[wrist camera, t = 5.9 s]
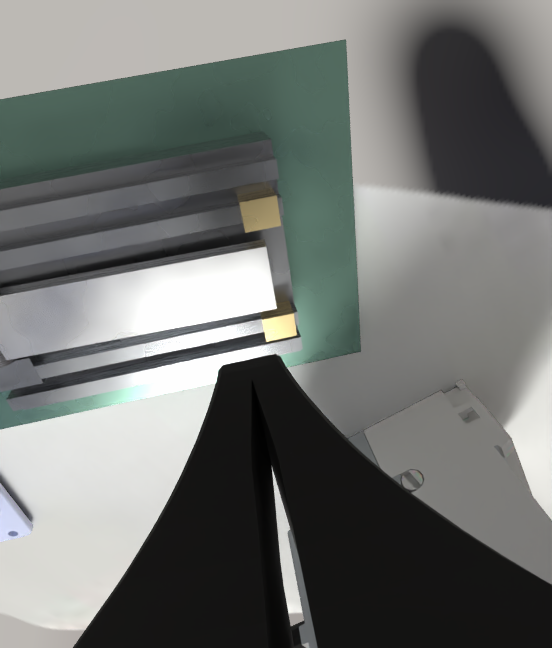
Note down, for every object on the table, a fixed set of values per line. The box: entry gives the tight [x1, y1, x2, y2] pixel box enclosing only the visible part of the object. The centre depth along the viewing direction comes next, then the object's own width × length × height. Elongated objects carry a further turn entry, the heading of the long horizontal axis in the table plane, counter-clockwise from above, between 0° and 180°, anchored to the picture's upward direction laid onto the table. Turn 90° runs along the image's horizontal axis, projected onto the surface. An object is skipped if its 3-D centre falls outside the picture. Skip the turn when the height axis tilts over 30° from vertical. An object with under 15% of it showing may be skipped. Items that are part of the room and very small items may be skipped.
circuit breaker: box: [288, 380, 552, 648], centre depth 21 cm, size 8×14×15 cm, turn 119°
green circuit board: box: [0, 40, 361, 429], centre depth 16 cm, size 18×13×4 cm
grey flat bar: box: [0, 239, 277, 368], centre depth 15 cm, size 10×3×1 cm, turn 98°
